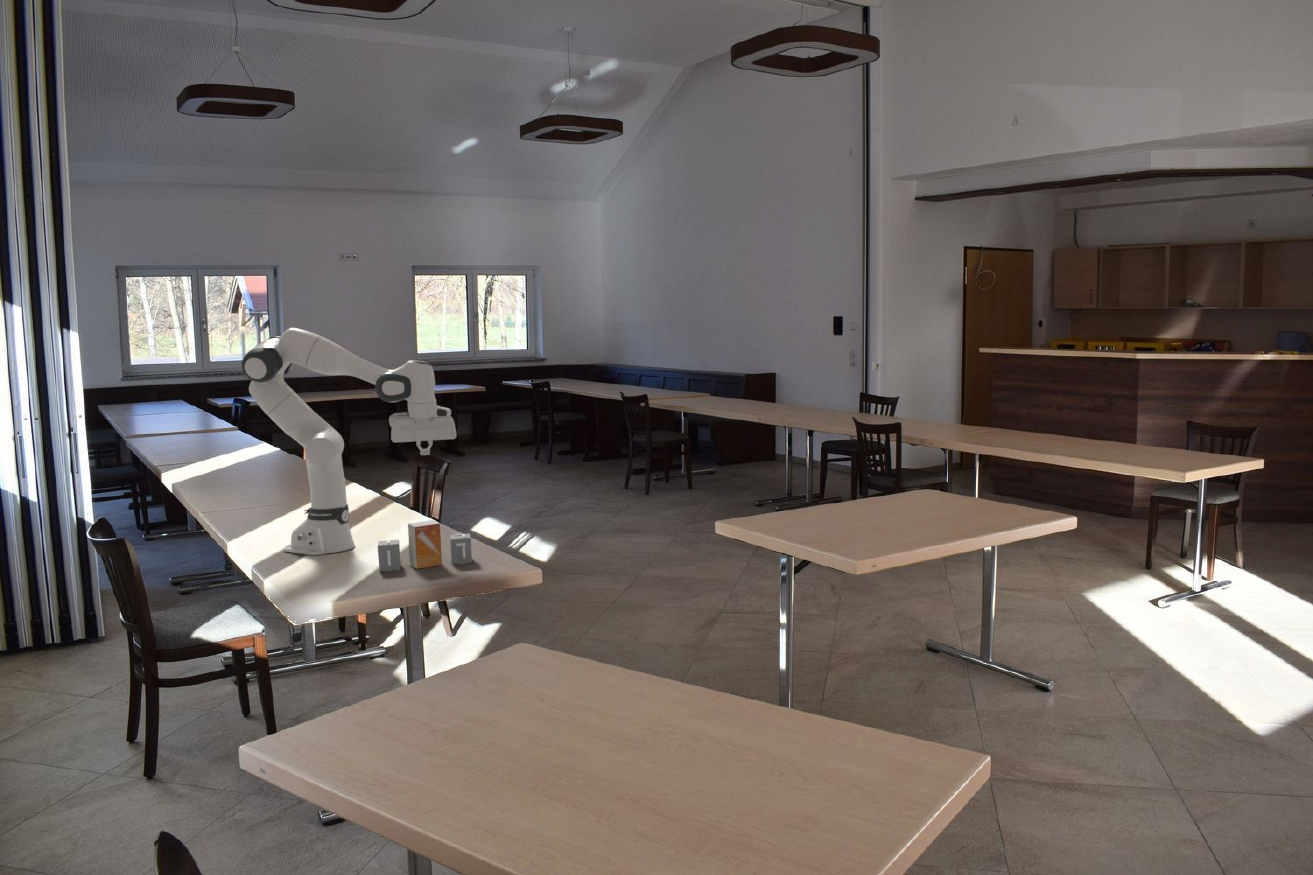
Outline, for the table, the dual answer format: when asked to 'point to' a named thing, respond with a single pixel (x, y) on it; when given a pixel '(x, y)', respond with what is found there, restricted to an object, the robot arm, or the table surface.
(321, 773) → the table surface
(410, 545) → the small box
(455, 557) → the numbered block seven
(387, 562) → the numbered block one
